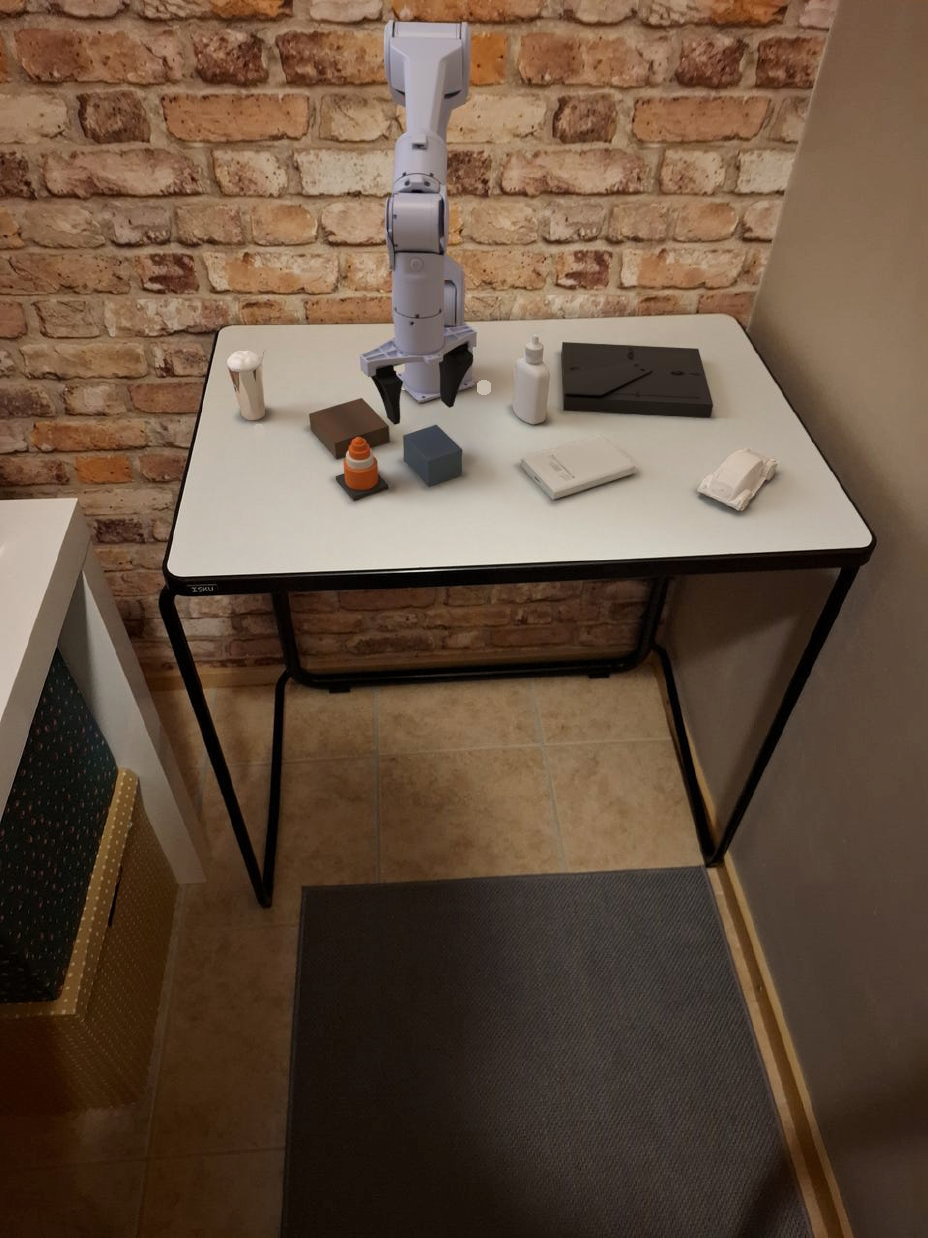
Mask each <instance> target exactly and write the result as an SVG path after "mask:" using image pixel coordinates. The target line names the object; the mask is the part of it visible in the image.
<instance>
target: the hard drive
mask: <svg viewBox="0 0 928 1238" xmlns="http://www.w3.org/2000/svg"><path fill="white" fill-rule="evenodd" d="M520 468H522V470H523V471H524V472H525V473H526V475H528V476H529V477H530V478H531V479H532V481H534V483H535V484H536V485H537V486H538V487H539V488H540V489H541V490H542V491H543V492H544V493H545V495H547V496H548V497H549V498H550V500H556V499H560V498H564V497H567V496H570V495H573V494H576V493H580V492H582V491H585V490H589V489H591V488H595V487H597V486H601V485H604V484H606V483H609V482H613V481H615V480H618V479H621V478H624V477H627V476H628V477H629V476H631V475H634V474H635V472H636V469H637V468H636V464H635V463H634V462H633V461H632V460H631V459H630V458H629V457H628V456H627V455H625V454H624V453H623V452H622V451H621V450H620V449H619V448H618V447H617V446H616V445H615V444H614V443H612V442H611V440H609V439H608V438H607V437H606V436H605V435H603V434H602V433H599V434H596V435H593V436H589V437H585V438H583V439H580V440H576V441H574V442H570V443H567V444H564V445H563V444H562V445H560V446H557V447H553V448H551V449H547V450H545V451H541V452H537V453H535V454H531V455H527V456H524V457H522V458H520Z"/></svg>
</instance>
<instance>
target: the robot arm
mask: <svg viewBox="0 0 928 1238" xmlns="http://www.w3.org/2000/svg"><path fill="white" fill-rule="evenodd" d="M383 31H384V32H383V65H384V66H383V68H384V76H385V80H386V81H387V86H388V91H389V94H390V95H391V98H392V102H394V103H395V104H397V105H399V106H401V107H403V108H405V123H406V124H405V125H406V127H405V128H406V131H405V132H404V133H402V134H401V135H400V136H399V137H398V138H397V140H396V142H395V144H394V155H393V169H392V182H391V186H392V187H391V197H386V200H385V205H384V234H385V235H384V236H385V243H386V248H387V253H388V266H389V270H391V278H392V279H391V280H392V281H391V282H392V285H391V286H392V287H391V317H392V321H393V326H394V327H393V331H394V337H392V338H391V339H389V340H387V341H385V342H384V343H383V344H381V345H379V346H377V347H375V348H373V349H371V350H369V351H367V352H364V353H360V354H359V363H360V364H359V365H360V371H361V372H362V373H363V374H364V375H366V376H367V377H368V378H370V379H371V380H372V382H373V383H374V385H375V387H376V389H377V392H378V394H379V396H380V398H381V401H382V404H383V406H384V410H385V414H386V418H387V419H388V420H389V421H390V422H391V424H393V425H395V426H396V425H399V424H400V423H401V393H402V388H403V389H404V390H405V391H406V392H407V393H408V394H409V395H410V396H412V398H413V399H415V400H416V402H418V403H425V402H428V401H432V400H434V399H437V398H440V401H441V402H442V403H443V404H444V405H445V406H447V408H449V409H450V408H453V407H455V402H456V398H457V395H458V392H460V391H463V390H465V389H469V388H473V387H475V381H473V364H474V354H473V352H474V348H476V347H477V338H478V337H477V331H476V330H475V329H474V328H472V327H471V326H470V325H469V324H467V323H466V321H465V305H466V283H465V271H464V269H463V266H462V265H461V264H460V263H459V262H458V261H456V260H455V259H454V258H453V257H452V256H450V255H449V254H448V253H447V250H448V246H449V239H450V238H449V236H450V203H449V198H448V187H447V178H448V154H449V151H448V147H447V139H448V137H447V133H448V132H447V130H448V125H449V122H450V119H451V116H452V112H453V111H454V110H456V109H457V108H459V107H462V106H464V105H466V104H467V98H468V96H469V93H470V90H469V89H470V81H471V54H472V53H471V51H472V28H471V27H470V25H468V22H466V21H462V22H461V23H457V22H455V23H451V22H421V21H420V22H418V21H395V19H389V20H388V22H387V23H386V25H385V26H384V30H383ZM401 365H404V371H403V372H400V373H397V370H395V367H399V366H401Z"/></svg>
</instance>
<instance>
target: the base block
mask: <svg viewBox="0 0 928 1238" xmlns="http://www.w3.org/2000/svg"><path fill="white" fill-rule="evenodd" d="M308 418H309V426H310V430H311V431H312V433H313V434H314V435H315V436H316V438H317V439H319V441H320V442H321V443H322V444H323V446H324V447H325V448H326V449H327V450H328V451H329V452H330V454H331V455H332V456H333V457H334V458H335V459H336V460H338V459H340V458H343V457H346V453H347V451H348V450H349V446H350V444H351V442H352V440H353V439H355V438H356V437H361V438H363V439H365V440H366V443H367V444H369V446H370V449H372V448H374V447H377V446H380V445H383V444H386V443H389V442H391V440H390V439H391V437H390V426H389V424H388V423H387V422H386V421H385V420H384V418H382V417H381V416H380V415H379V414H378V413H377V411H375V410H374V409H373V408H372V406H370V405H369V404H368V403H367V401H366V400H365V399H364V398H362V397H360V398H357V399H353V400H350V401H347V402H343V403H340V404H337V405H336V404H335V405H333V406H330V407H326V408H323V409H320V410H316V411H313V412H310V413H308Z"/></svg>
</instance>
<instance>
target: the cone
mask: <svg viewBox="0 0 928 1238" xmlns="http://www.w3.org/2000/svg"><path fill="white" fill-rule="evenodd" d="M335 481H336V482H337V483H338V484H339V486H340V487H341V488H342V489H343V490H344V492H345V493H346V494H347V495H348V496H349V498H350V499H351V500H352V501H357V500H360V499H363V498H365V497H368V496H371V495H374V494H376V493H379V492H383V491H386V490H389V486H390V485H389V484H388V483H387V482H386V480H385V479H384V478H383V477H382V475H380V473H379V467H378V459H377V458H376V456H374V451H373V450H372V448H370V446H369V444H367V443H366V440H365V439H363V438H361V437H356V438H355V439H353V440H352V442H351V444H350V446H349V450H348V451H347V453H346V456H345V458H344V460H343V473H341V474H337V475H335Z"/></svg>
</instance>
